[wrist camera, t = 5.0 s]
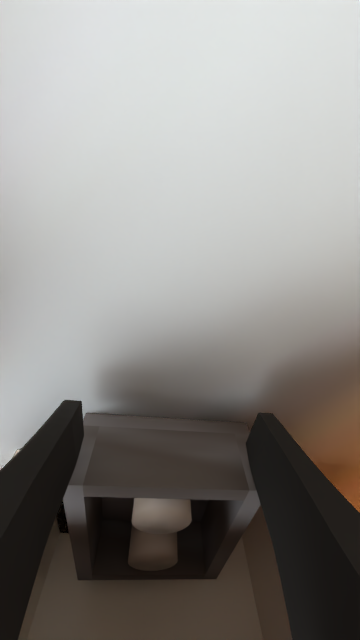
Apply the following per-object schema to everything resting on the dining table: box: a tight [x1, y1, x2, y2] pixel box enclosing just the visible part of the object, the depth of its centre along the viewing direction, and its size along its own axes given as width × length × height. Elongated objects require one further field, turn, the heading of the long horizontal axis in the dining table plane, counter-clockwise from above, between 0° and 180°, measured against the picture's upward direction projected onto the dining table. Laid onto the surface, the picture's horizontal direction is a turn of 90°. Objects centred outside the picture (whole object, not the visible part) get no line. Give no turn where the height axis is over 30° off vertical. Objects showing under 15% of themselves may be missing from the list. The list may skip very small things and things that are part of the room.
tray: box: [63, 413, 261, 580], centre depth 13 cm, size 10×8×4 cm
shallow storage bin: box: [13, 449, 292, 640], centre depth 13 cm, size 11×16×8 cm
